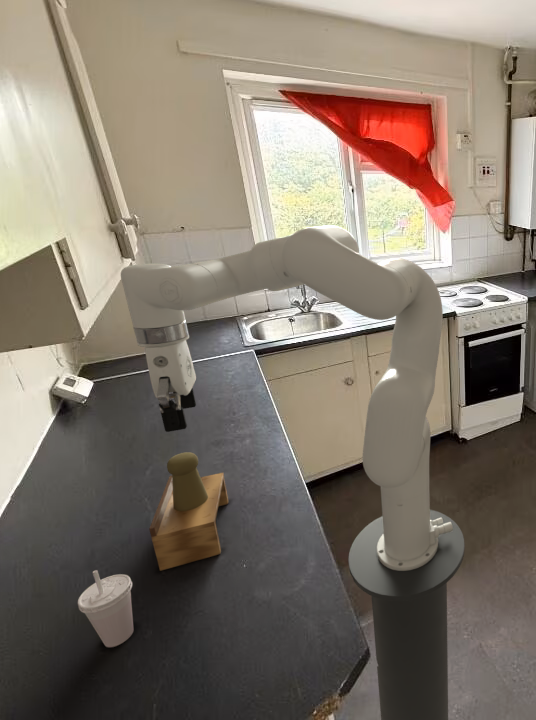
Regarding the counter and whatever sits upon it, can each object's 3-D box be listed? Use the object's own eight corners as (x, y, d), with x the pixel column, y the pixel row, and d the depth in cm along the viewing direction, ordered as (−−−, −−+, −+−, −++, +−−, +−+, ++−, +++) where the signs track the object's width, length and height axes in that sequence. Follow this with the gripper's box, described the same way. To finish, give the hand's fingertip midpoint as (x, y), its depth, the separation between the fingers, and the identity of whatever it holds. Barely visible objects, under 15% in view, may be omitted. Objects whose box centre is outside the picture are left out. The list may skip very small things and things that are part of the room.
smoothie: (81, 656, 66) (56, 586, 62) (115, 618, 72) (94, 552, 68) (123, 655, 67) (101, 585, 63) (153, 617, 73) (135, 552, 69)
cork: (207, 505, 88) (197, 459, 85) (171, 514, 85) (160, 467, 82) (209, 489, 93) (200, 445, 90) (175, 497, 90) (165, 452, 87)
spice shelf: (228, 500, 102) (221, 465, 99) (220, 553, 86) (212, 513, 83) (178, 513, 97) (169, 475, 94) (159, 571, 82) (149, 528, 79)
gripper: (177, 343, 70) (197, 434, 75) (195, 320, 85) (211, 397, 90) (120, 349, 67) (145, 444, 72) (149, 324, 82) (168, 403, 87)
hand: (181, 418), depth 81 cm, fingers open, 9 cm apart
